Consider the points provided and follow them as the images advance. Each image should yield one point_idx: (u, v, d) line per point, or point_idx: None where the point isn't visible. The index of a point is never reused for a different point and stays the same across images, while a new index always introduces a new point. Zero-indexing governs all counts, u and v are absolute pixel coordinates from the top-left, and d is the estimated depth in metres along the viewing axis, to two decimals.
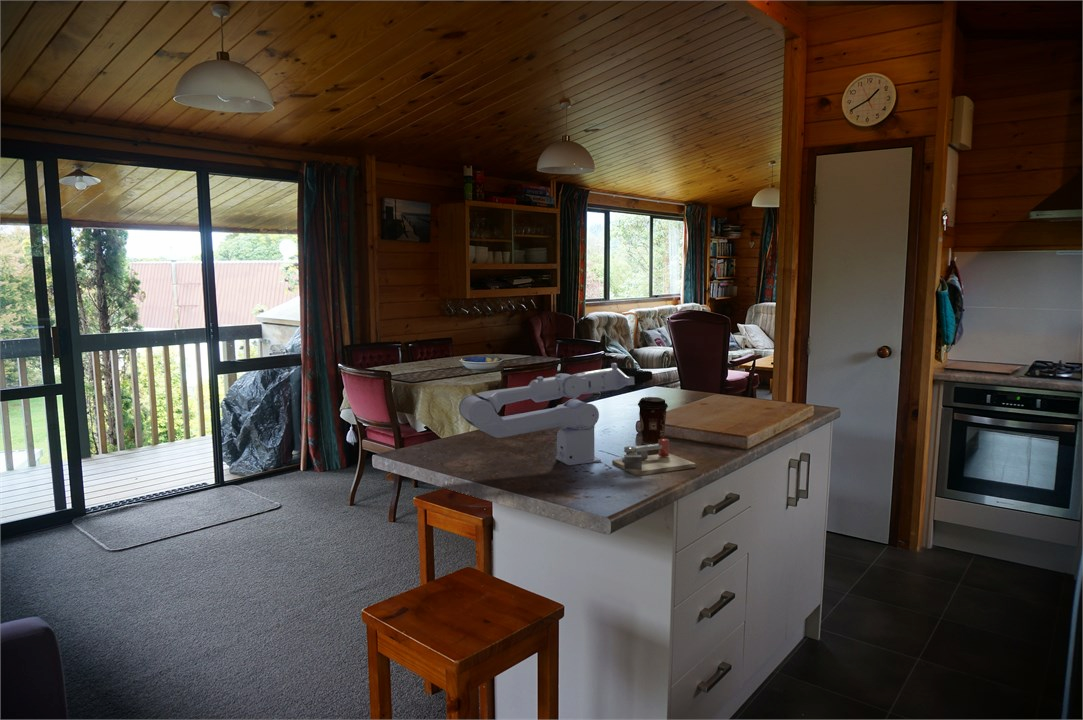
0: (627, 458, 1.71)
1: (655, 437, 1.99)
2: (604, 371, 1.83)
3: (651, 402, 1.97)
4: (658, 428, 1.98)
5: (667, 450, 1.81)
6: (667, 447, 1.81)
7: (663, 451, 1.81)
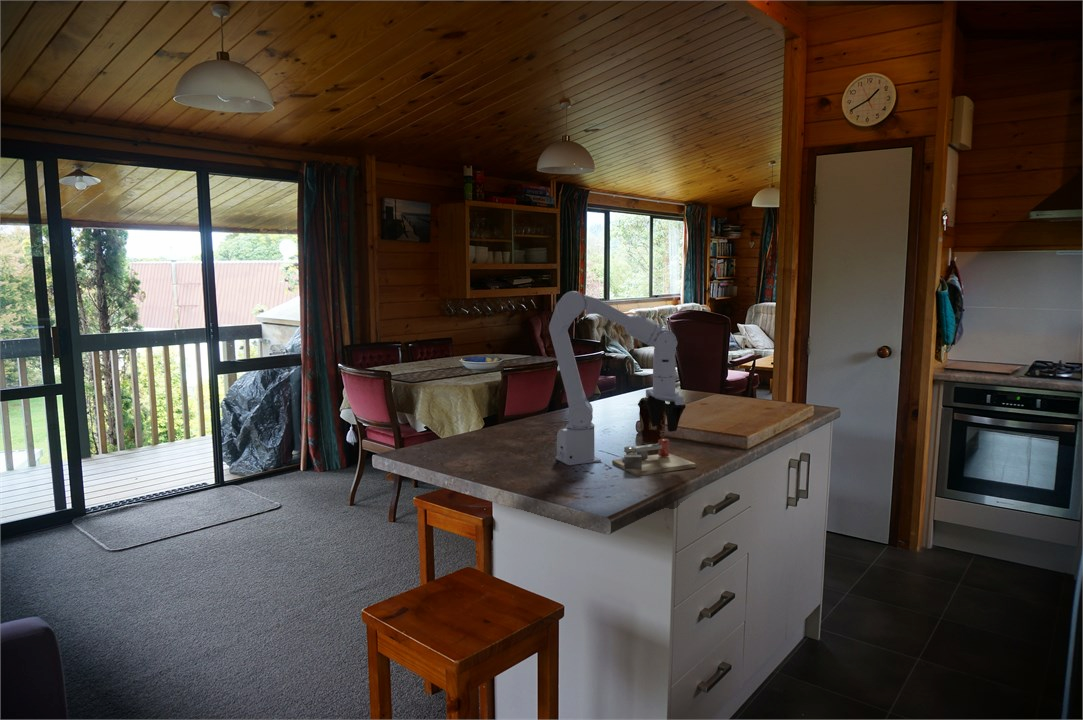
0: (627, 458, 1.71)
1: (655, 437, 1.99)
2: None
3: None
4: (658, 428, 1.98)
5: (667, 450, 1.81)
6: (667, 447, 1.81)
7: (663, 451, 1.81)
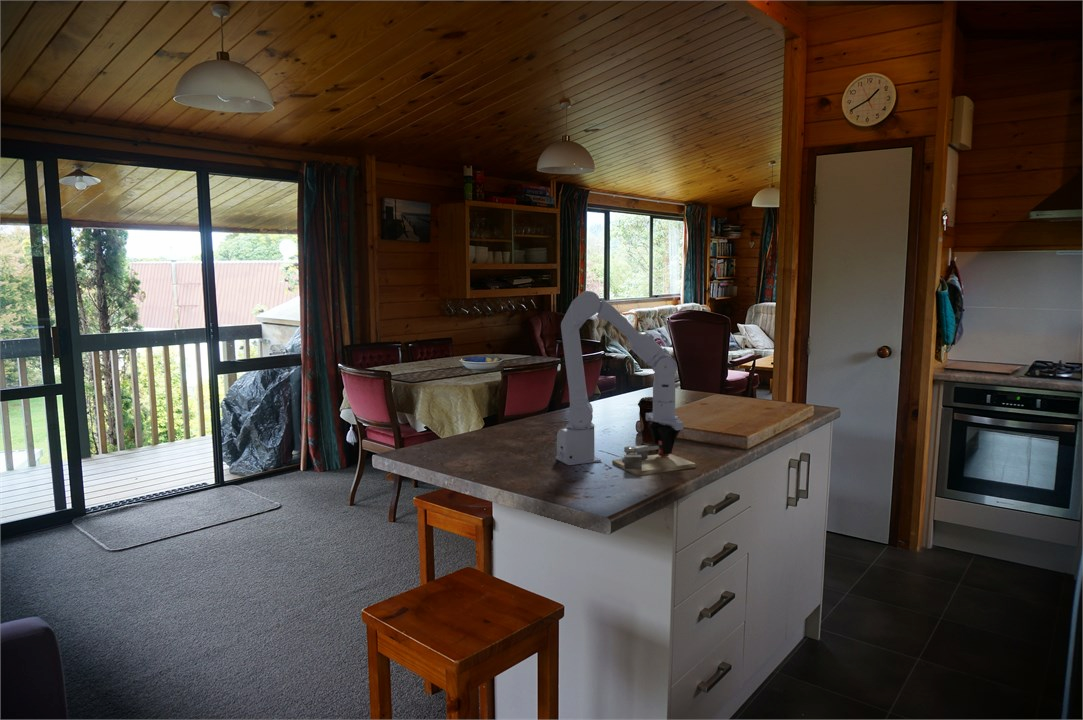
0: (627, 458, 1.71)
1: None
2: None
3: (651, 402, 1.97)
4: None
5: None
6: None
7: None
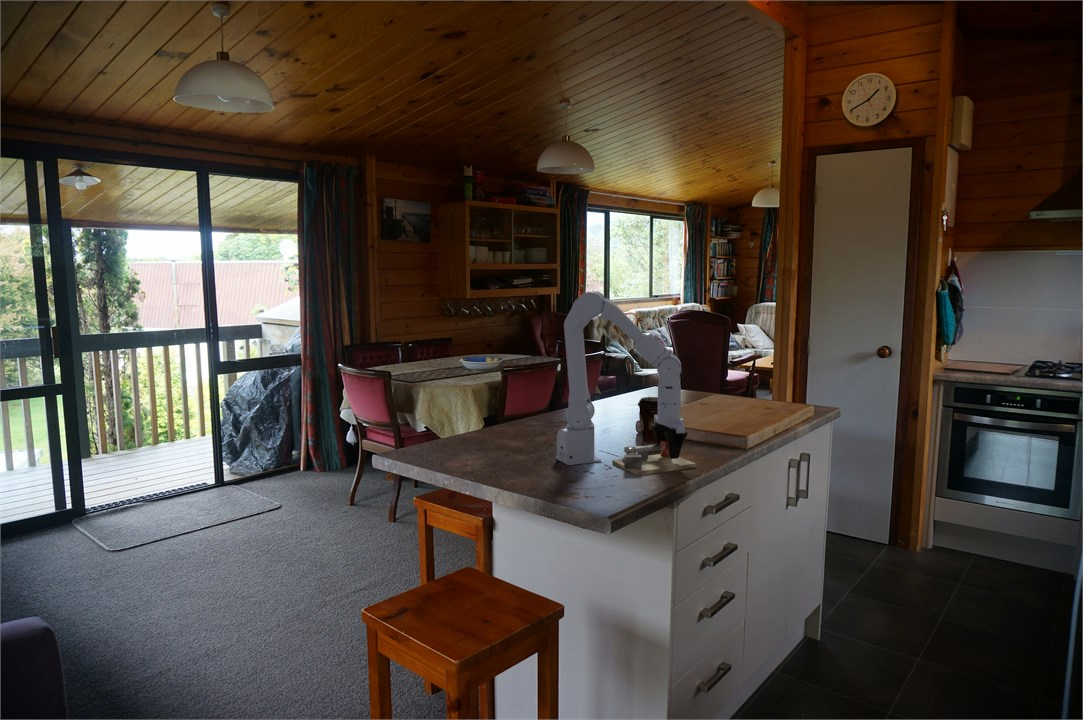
0: (627, 458, 1.71)
1: (655, 437, 1.99)
2: (680, 407, 1.77)
3: (651, 402, 1.97)
4: None
5: None
6: None
7: (664, 452, 1.80)
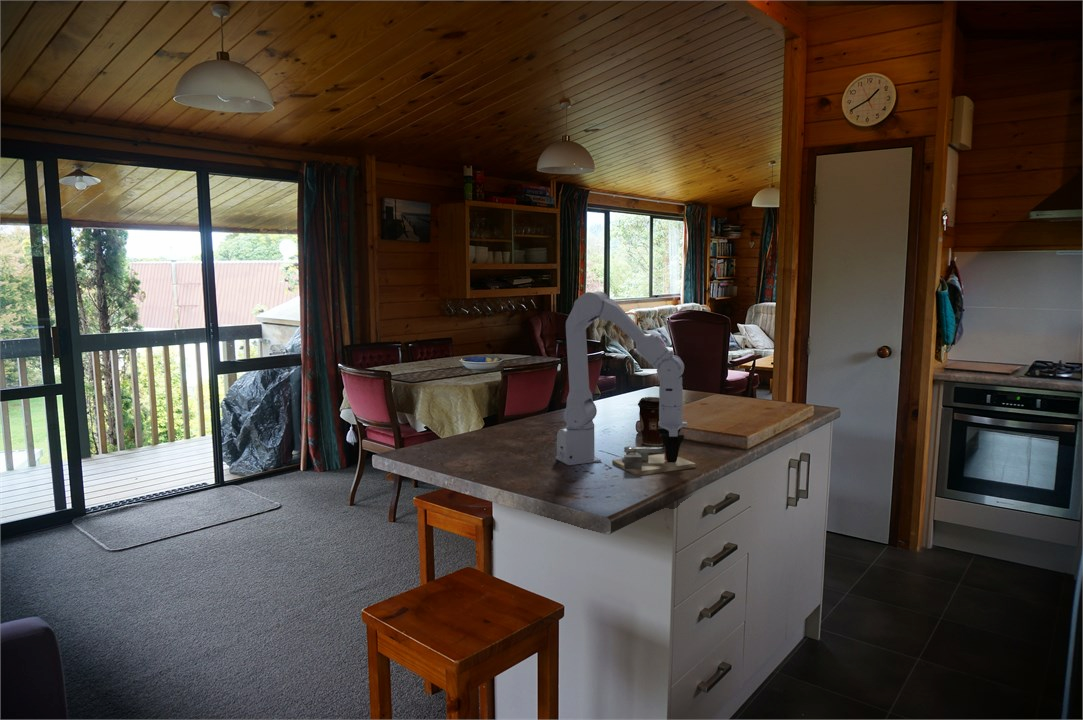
0: (627, 458, 1.71)
1: (655, 437, 1.99)
2: (681, 410, 1.73)
3: (651, 402, 1.97)
4: None
5: None
6: None
7: None
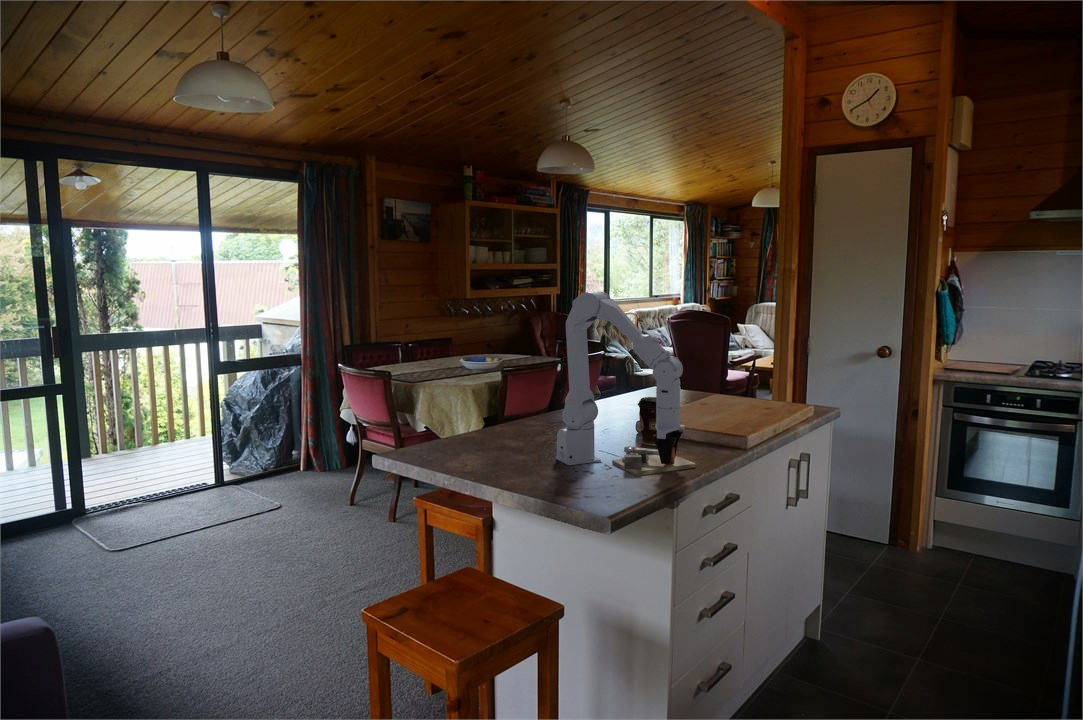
0: (627, 458, 1.71)
1: None
2: (676, 413, 1.69)
3: (651, 402, 1.97)
4: None
5: None
6: None
7: None
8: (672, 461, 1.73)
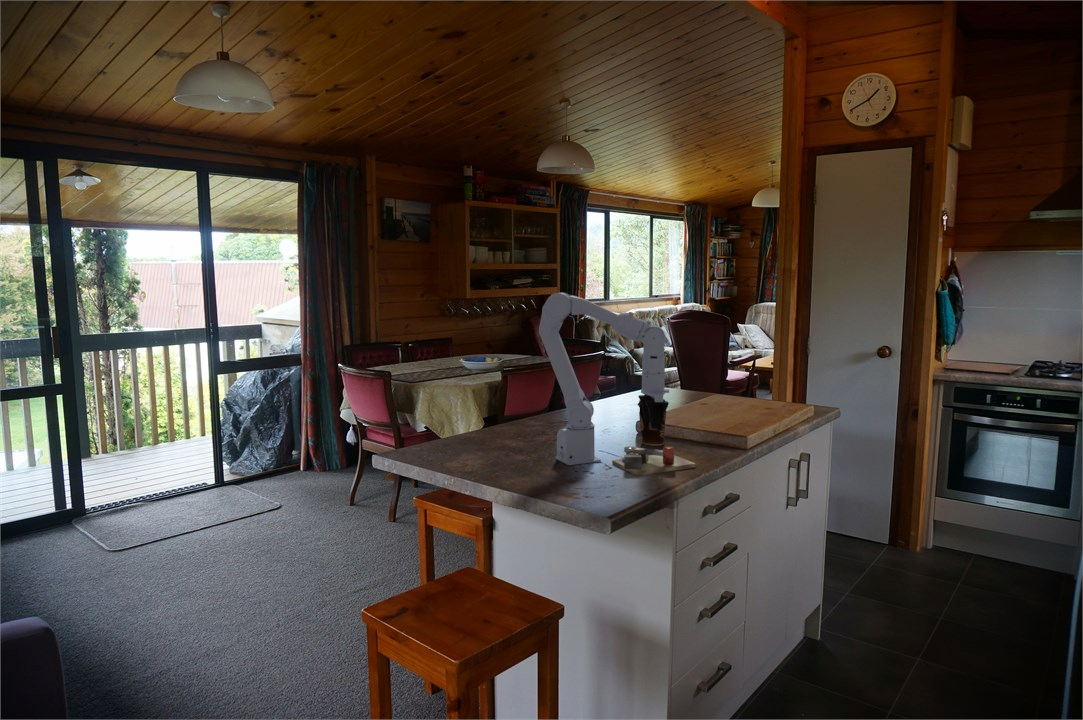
0: (627, 458, 1.71)
1: (655, 437, 1.99)
2: (663, 377, 1.78)
3: None
4: None
5: (667, 459, 1.72)
6: (667, 456, 1.72)
7: (663, 459, 1.73)
8: (672, 461, 1.73)
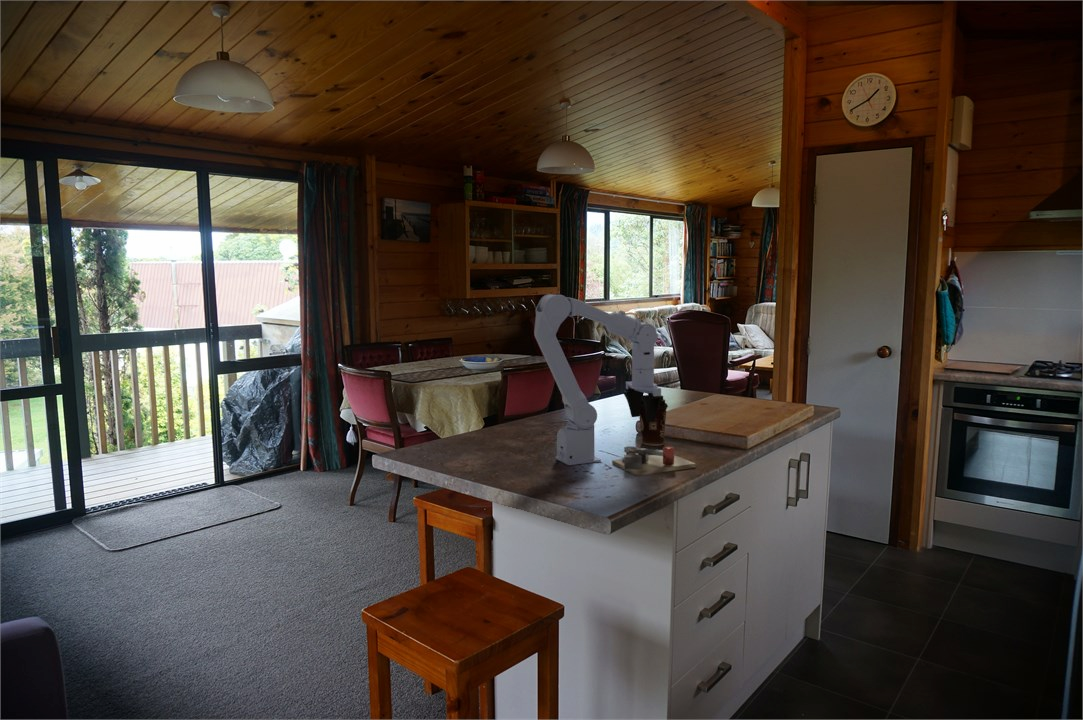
0: (627, 458, 1.71)
1: (655, 437, 1.99)
2: (653, 372, 1.85)
3: None
4: (658, 428, 1.98)
5: (667, 459, 1.72)
6: (667, 456, 1.72)
7: (663, 459, 1.73)
8: (672, 461, 1.73)
